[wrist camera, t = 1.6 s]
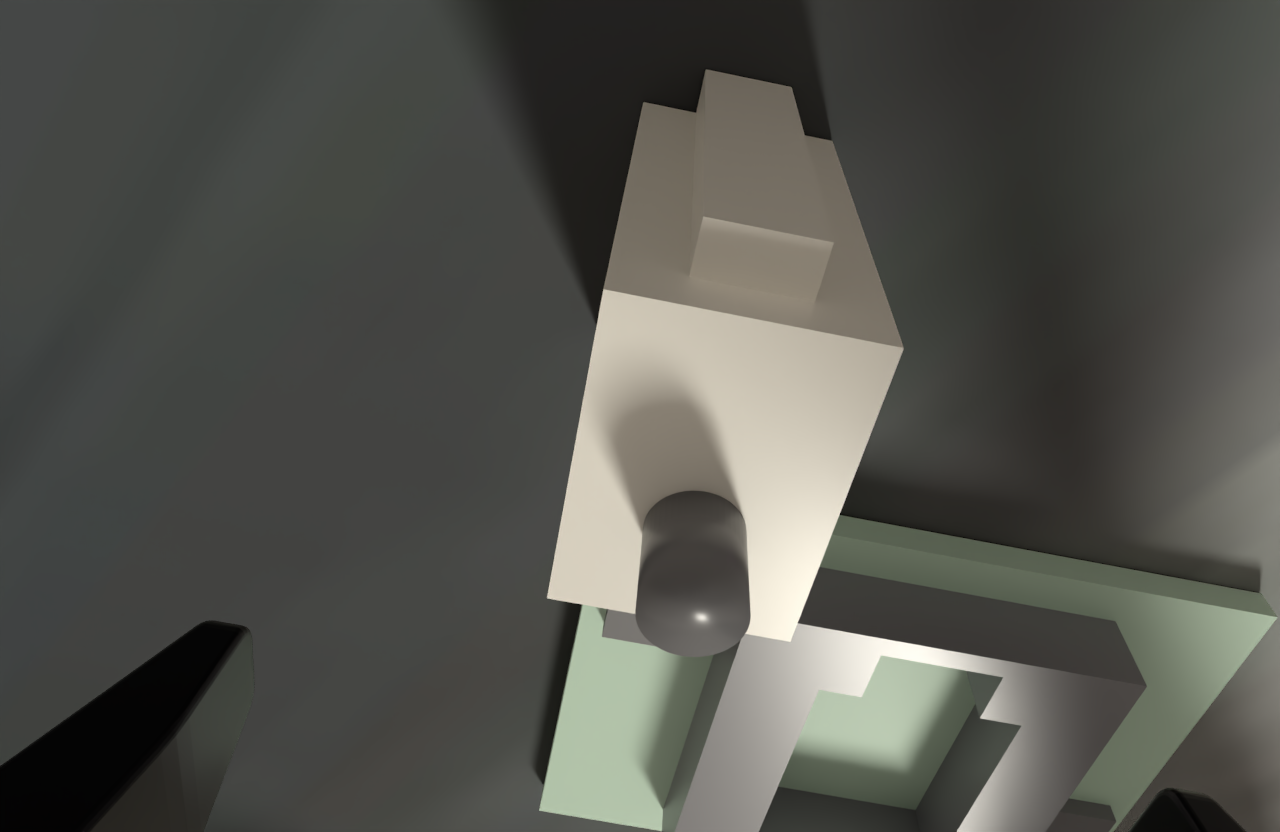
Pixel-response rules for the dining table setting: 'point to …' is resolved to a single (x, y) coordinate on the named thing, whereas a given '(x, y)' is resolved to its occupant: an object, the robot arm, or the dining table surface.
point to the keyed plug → (724, 376)
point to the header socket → (843, 663)
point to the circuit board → (903, 685)
